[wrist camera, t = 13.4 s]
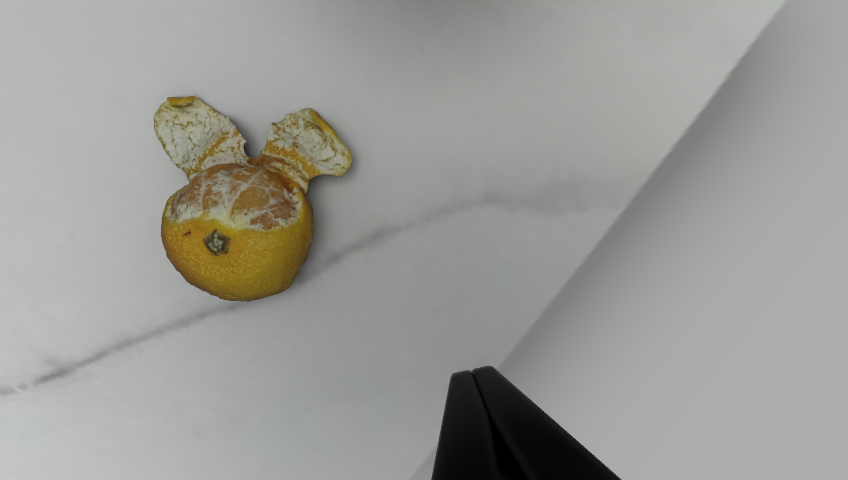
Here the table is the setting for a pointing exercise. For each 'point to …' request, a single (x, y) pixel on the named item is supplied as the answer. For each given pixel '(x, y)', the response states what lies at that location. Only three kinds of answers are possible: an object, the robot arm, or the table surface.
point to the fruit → (242, 198)
